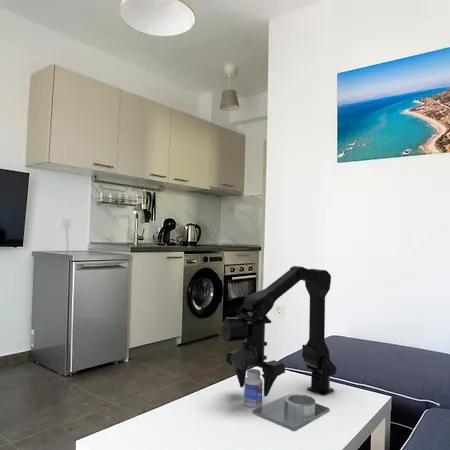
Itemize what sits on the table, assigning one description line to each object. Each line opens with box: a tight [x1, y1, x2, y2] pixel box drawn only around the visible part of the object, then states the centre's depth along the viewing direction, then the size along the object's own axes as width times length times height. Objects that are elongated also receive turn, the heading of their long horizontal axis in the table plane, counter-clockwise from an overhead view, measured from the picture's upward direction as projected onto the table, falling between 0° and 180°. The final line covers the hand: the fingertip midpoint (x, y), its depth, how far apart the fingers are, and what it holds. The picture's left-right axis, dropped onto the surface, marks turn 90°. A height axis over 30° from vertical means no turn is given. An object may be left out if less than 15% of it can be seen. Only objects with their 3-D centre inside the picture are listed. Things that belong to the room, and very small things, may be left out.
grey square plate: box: [252, 393, 331, 432], centre depth 112 cm, size 18×14×4 cm
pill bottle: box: [243, 368, 264, 408], centre depth 117 cm, size 5×5×10 cm
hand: (253, 391), depth 117 cm, fingers open, 9 cm apart
